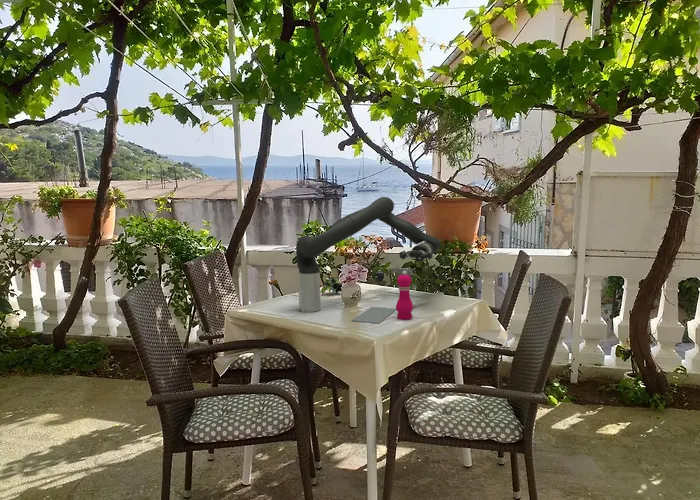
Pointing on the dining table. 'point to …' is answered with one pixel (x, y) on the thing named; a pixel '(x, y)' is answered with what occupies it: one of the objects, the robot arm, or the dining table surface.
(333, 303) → the dining table surface
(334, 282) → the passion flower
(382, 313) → the mat
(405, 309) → the pepper mill
